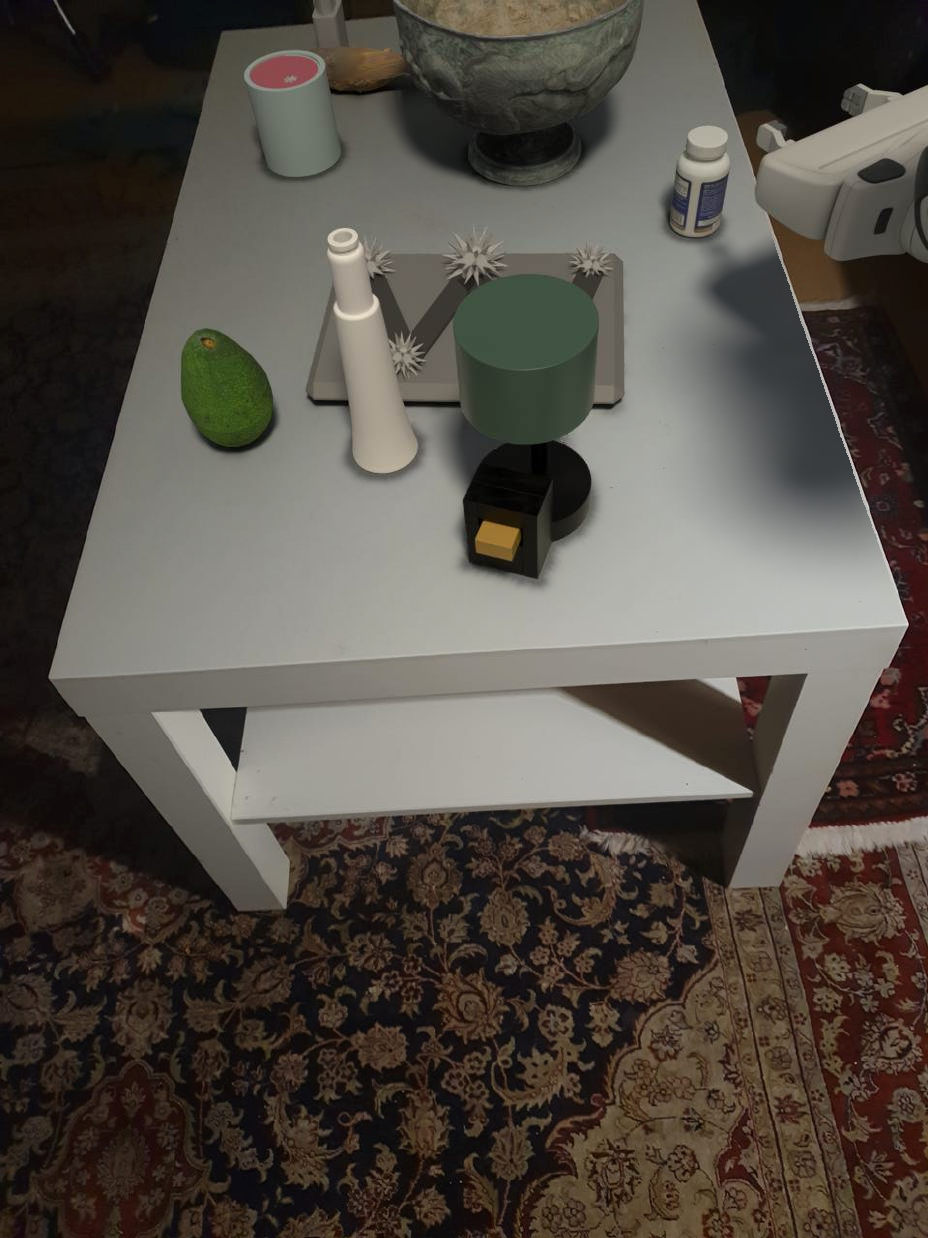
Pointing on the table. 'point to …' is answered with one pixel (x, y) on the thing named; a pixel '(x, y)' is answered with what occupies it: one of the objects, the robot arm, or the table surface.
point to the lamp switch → (498, 540)
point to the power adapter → (330, 24)
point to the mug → (293, 112)
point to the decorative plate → (429, 296)
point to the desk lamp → (527, 409)
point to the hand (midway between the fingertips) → (807, 112)
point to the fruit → (224, 389)
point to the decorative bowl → (518, 73)
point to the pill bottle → (700, 182)
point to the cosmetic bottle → (367, 362)
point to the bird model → (360, 67)
